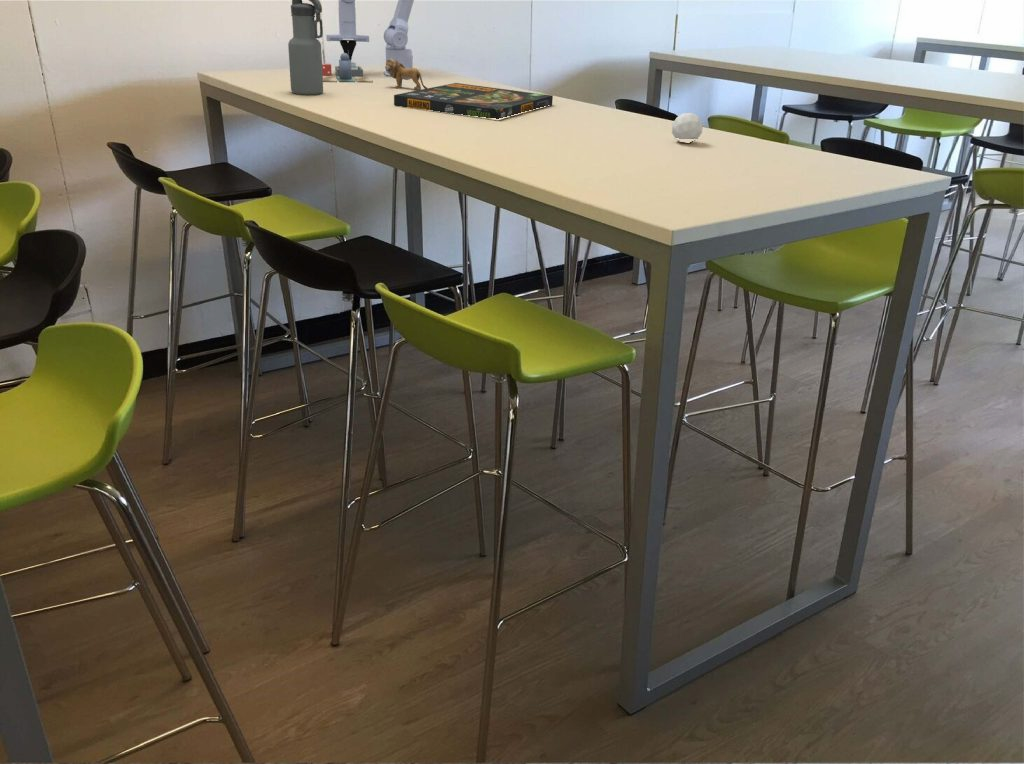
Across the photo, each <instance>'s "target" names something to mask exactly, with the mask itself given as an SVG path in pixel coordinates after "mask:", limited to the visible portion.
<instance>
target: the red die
mask: <svg viewBox="0 0 1024 764" xmlns="http://www.w3.org/2000/svg"><path fill="white" fill-rule="evenodd" d="M322 74H323V76H332V64H331V63H322Z"/></svg>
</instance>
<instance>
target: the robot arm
mask: <svg viewBox="0 0 1024 764" xmlns="http://www.w3.org/2000/svg"><path fill="white" fill-rule="evenodd" d="M414 1H415V0H397V2H396V3H397V4H396V7H395V10H394V14H393V18H392V19H391V20H390V21H389V23H388V27H387V28H386V29H385V30H384V32H383V39H384V42H385V43H386V46H385V61H386V60H388V59H394V60H396V61H398V62H399V63H401V64H402V65H403V66H404V67H405V68H408V69H411V68H414V67H413V64H414V63H413V51H412V49H411V48H407V47H406V46H407V44H408V41H409V38H408V32H409V24H408V23H409V20H410V19H409V18H410V15H411V11H412V9H413V4H414ZM337 9H338V27H339V28H338V29H339V31H338V32H339V34H326V35H325V37H326V42H339V44H340V46H341V48H342V51H343V53H347V54H348V55H349V60H351V61H352V59H353V54H354V52H355V48H356V46H357V42H359V43H362V42H363V43H364V42H365V43H370V36H369V35H360V34H357V23H356V21H357V17H356V15H357V14H356V0H338V8H337ZM383 73H384V74H385V75H386V76H387V77H389V76H391V75H390V74H389V73H388V72H387V71H386V70H385V71H383ZM391 77H392V76H391Z"/></svg>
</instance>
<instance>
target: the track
mask: <svg viewBox="0 0 1024 764" xmlns="http://www.w3.org/2000/svg"><path fill="white" fill-rule="evenodd" d="M351 78H352V79H349V80H344V79H340V77H338V76H336V77H335V76H334V75H333V76H330V75H323V83H337V82H339V83H355V82H357V83H374V82H373V79H371V78H370V77H369V76H363V77H351Z"/></svg>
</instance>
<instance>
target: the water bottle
mask: <svg viewBox="0 0 1024 764" xmlns="http://www.w3.org/2000/svg"><path fill="white" fill-rule="evenodd" d="M308 1H309V2H310V3H308V2H307V3H306V2H303V0H291V5H290V14H291V15H290V16H291V20H292V36H293V37H292V38H291V39H289V41H288V44H287V45H288V47H287V48H288V49H287V50H288V62H289V63H288V64H289V77H290V80H289V81H290V90H291V92H292V93H293V94H295V95H301V96H315V95H316V96H317V95H320V94H323V92H324V82H323V76H324V75H323V74H322V64H323V56H322V44H321V41H320V40H319V39H320V38H321V39H322V38H323V35H324V31H323V30H324V29H323V20H322V19H321V13H322V12H323V8H322V4H321V2H320V0H308ZM318 23H319V31H320V32H319V35H318Z"/></svg>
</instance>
